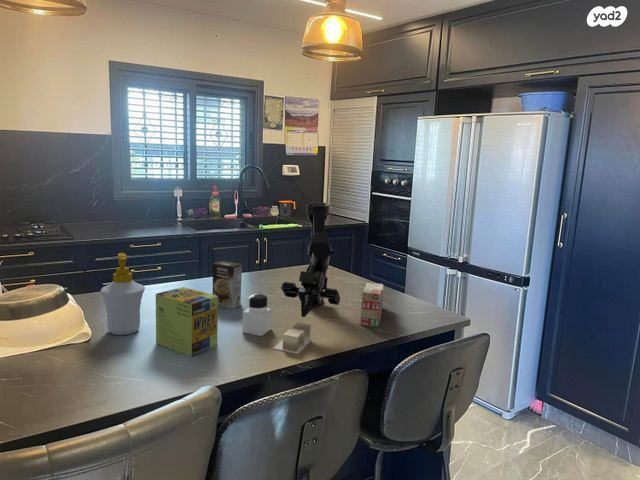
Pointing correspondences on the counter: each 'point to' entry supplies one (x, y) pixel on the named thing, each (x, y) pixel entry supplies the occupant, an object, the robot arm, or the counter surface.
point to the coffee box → (227, 283)
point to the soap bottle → (123, 300)
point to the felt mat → (280, 347)
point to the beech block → (296, 337)
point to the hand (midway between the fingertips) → (302, 316)
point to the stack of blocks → (372, 304)
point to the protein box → (186, 320)
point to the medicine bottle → (257, 316)
